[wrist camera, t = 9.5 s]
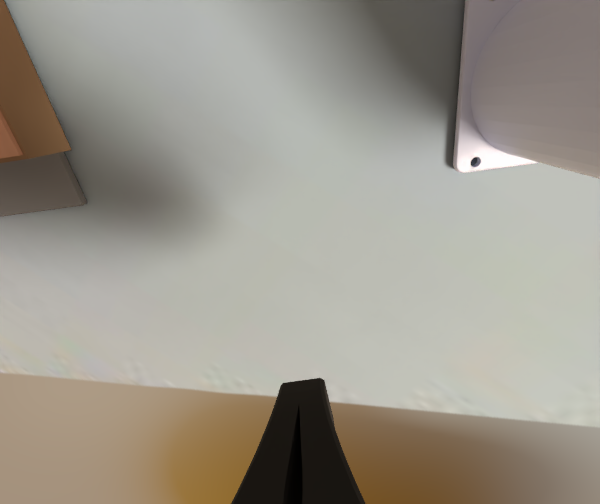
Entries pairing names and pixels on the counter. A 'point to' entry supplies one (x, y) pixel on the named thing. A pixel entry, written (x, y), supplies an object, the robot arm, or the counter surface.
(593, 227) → the counter surface
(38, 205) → the mat
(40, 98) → the wooden block
